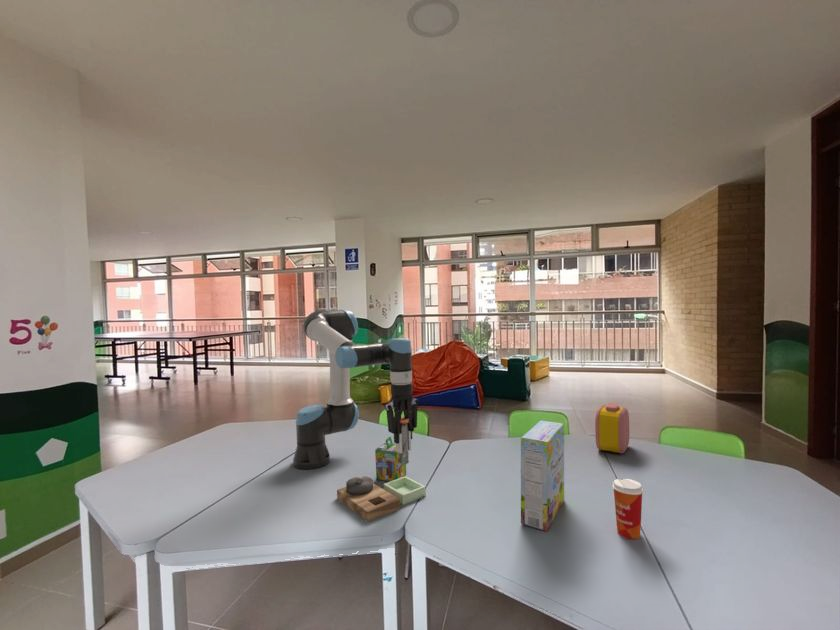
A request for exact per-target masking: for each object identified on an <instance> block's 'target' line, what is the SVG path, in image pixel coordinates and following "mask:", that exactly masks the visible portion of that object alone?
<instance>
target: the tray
mask: <svg viewBox="0 0 840 630" xmlns="http://www.w3.org/2000/svg"><path fill="white" fill-rule="evenodd" d="M383 489H384V490H385V491H387V492H389V493H390V494H392V495H394V496H395V497H397V498H399V499H400V505H407V504H409V503H412V502H413V501H417V500H418V499H421V498H423V496H424V497H426V496H427V490H426V489H427V487H426V485H423V484H422V483H420V482H418V481H415V480H414V479H412V478H410V477H408V476H406V475H404V476H403V477H401V478H399V479H396V480H393V481H387V482H385V483H383Z"/></svg>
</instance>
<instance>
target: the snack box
mask: <svg viewBox="0 0 840 630" xmlns="http://www.w3.org/2000/svg"><path fill="white" fill-rule="evenodd" d="M564 501H565V424H564V423H561V422H554V421H545V420H539V421H538V422H537V423H536V424H535V425H534V426H532V428H530V429H529V430H528V431H527V432H526V433H524V435H523V436H521V438H520V524H521V525H524V526H528V527H532V528H535V529H538V530H541V531H546V532H548V531H549V529H550V526H551V525H552V523H553V521H554V520H555V517H556V515H557V514H558V512H559V510H560V509H561V507H562V505H563V503H564Z"/></svg>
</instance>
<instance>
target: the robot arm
mask: <svg viewBox="0 0 840 630" xmlns="http://www.w3.org/2000/svg"><path fill="white" fill-rule="evenodd" d="M302 329H303V332H304V334H305V336H306V337H307V338H308V339H310V340H311V341H314V342H318V343H319V344H320V345H322V346H323V347H324V348H325V349H326V350H327V351H329V390H330V391H329V396H330V397H329V398H328V400H327V401H326V406H324V405H323V404H315V405H314V404H313V405H308V406H305V407H303V408H301V409H299V410H298V411H297V413H296V414H295V424H296V425H295V427H296V448H295V452H294V455H293V458H292V466H293V467H294V468H295V469H300V470H314V469H317V468H321V467H325V466H326V465H329V463H330V461H331V455H330V451H329V450H328V449H329V448H328V446H327V444H326V436H328V435H332V434H333V435H334V434H336V433H341V432H346V431H349V430H352V429H354V428H355V427H356V426H357V425H358V422H359V419H360V418H359V417H360V415H359V407H358V405H357V404H356V403H355V402H354V400H353V398H351V389H350V388H351V384H350V383H351V379H350V376H351V375H350V373H351V372H350V369H354V368H359V367H367V366H376V365H389V374H390V377H389V380H390V383H391V384H390V395H391V399H390V402H389V403H385V404H384V408H385V409H384V410H385V412H386V419H387V421H386V422H387V429H388V433H391V434H393V443H396V452H398V453H402V434H401V433H400V420H401V417H402V415H403V417H406V418H409V423H408V452H409V451H412V440H413V432H415V429H416V428H417V427H418V406H419V403H420V400H419V398H418V399H417V398H413V383H412V381H413V369H412V367H413V366H412V362H413V361H412V360H413V359H412V358H413V356H412V355H413V354H412V349H413V348H412V341H411V340H410V338H407V337H396V338H390V339H389V342H385V341H384V342H383V341H382V342H376V343H369V344H366V343H365V344H356V343H355V342H353V340H354V339H353V338H354V337H355V336H356V335H357V333H358V331H359V323H358V319H357V317H356V315H355V314H354V312H352V311H351V310H348V309H333V310H332V309H330V310H329V309H328V310H326V309H325V310H321V309H320V310H316V311H313V312H311V313H309V314H308V315H307V316H306V317H305V320H304V321H303V326H302Z"/></svg>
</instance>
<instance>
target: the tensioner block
mask: <svg viewBox="0 0 840 630" xmlns="http://www.w3.org/2000/svg"><path fill="white" fill-rule="evenodd" d="M345 485H346V486H344V487H341V488H339V489H337V490H336V496H337V497H336V499H337V500H339V501H340V502H341V503H342V504H344V505H345V506H347V508H349V509H351V510H352V512H354V513H355V514H357V515H359V517H361V518H362V519H363V520H365V521H366V522H368V523H369V522H371V521H374V520H376V519H379V518H381V517H383V516H386V515H388V514H390V513H392V512H395V511H398V510H400V509H401V503H400V499H399V498H397V497H395V496H394V495H392V494H390V493H389V492H387V491H385V490H384V488H381V486H379V485H377V484H376V483H374V481H373V478H371V477H368V476H362V475H359V476H356V477H351V478H349V479H348V480H347V481H346V482H345ZM385 514H386V515H385Z"/></svg>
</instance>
